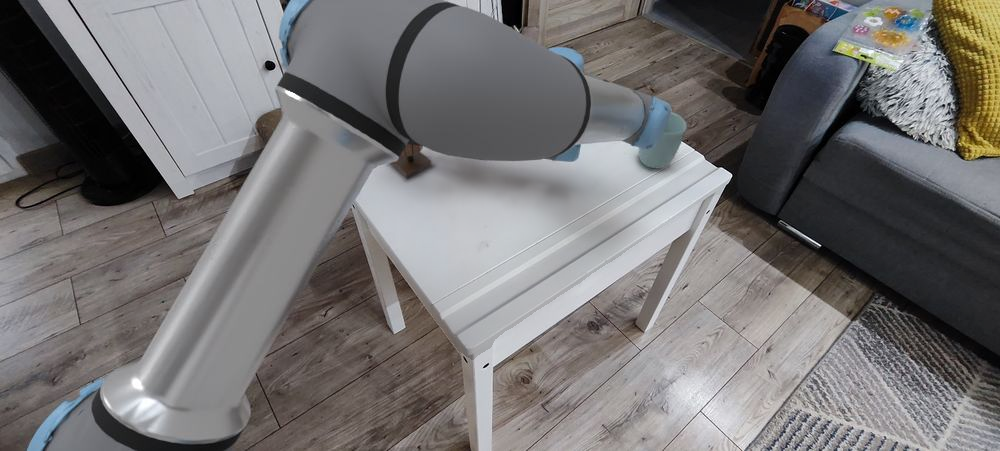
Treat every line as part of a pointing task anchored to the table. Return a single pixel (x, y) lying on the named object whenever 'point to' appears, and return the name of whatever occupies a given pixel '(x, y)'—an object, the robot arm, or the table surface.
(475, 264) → the table surface
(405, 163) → the peg stand
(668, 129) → the cup
